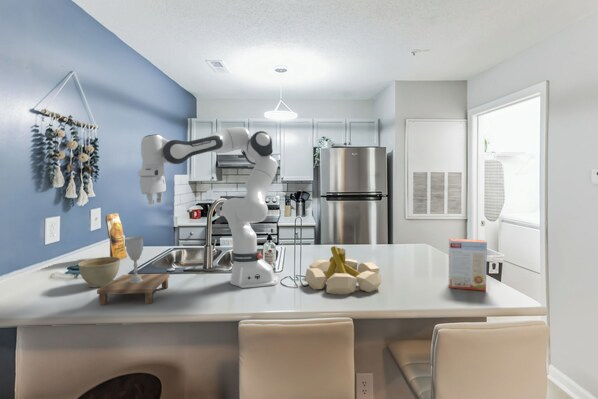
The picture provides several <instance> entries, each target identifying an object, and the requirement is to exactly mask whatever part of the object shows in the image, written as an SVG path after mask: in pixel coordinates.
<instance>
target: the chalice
mask: <svg viewBox="0 0 598 399" xmlns="http://www.w3.org/2000/svg"><path fill="white" fill-rule="evenodd" d="M144 238H145V237H144V236H128V237H125V238H124V241H125V250H126V254H127V256H128V257H129V258H130V260H131V261H133V272H134V273H133V274H134V275H133V274H132V275H133V276H132V277H131V279H130V281H129V283H139V282H142V281H143V280H142V278H141V276H140V275H138V271H139V269H138V261H139V259H140V258H141V256H142V253H143V250H144V241H143V240H144Z"/></svg>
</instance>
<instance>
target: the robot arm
mask: <svg viewBox="0 0 598 399" xmlns="http://www.w3.org/2000/svg"><path fill="white" fill-rule="evenodd" d="M238 150H241V151H240V152H241V154H242V155H243V157H244V159H245V160H246V162H247V163H249V164H250V165H253V166H254V167H253V169H252V170H251V172H250V174H249V176H248V178H247V179H246V182H245V184H244V185H245V186H244V188H245V189H246V195H245V196H244V197H233V198H227V199H226V200H224V202H223V204H222V206H221V213H222V215H223V217H224V218H225V219H226V221H227V223H228V225H229V228H230V231H231V237H232V240H231V241H232V252H231V264H232V268H231V269H232V270H231V276H230V280H229V283H230V284H231V285H233V286H237V287H239V288H241V289H246V288H256V287H257V288H258V287H259V288H260V287H268V286H276V285H277V284H278V283H279V276H278V275H277V274H275V272H274V269H273V266H272V265H271V264H269V263H268V262H267V261H265V260H264V259H262V257H263V254H262V251H259V250H258V239H257V238H258V237H257V234H256V232H255V231H254V230H253V228H252V225H251V224H256V223H260V222H264V221H265V220H266V219H267V216H268V214H269V208H268V205H267V203H266V197H267V193H268V191H269V189H270V187H271V185H272V183H273V181H274V179H275V177H276V174H277V171H278V167H279V165H278V164H279V162H278V161H277V160H276V158H274V157H272V153H274V152H273V139H272V136H271V135H270V134H269V133H268V132H266V131H263V130H260V131H256V132H255V133H253V134H252V135H251V134H250V131H249V130H248V129H247V128H246V127H245V126H233V127H228V128H223V129H220V130H216V131H215V132H213V133H210V134H209V135H208V136H206V137H202V138H198V139H194V140H188V141H184V140H179V139H172V140H168V139H166V138H164V137H163V136H161V135H160V134H148V135H145V136H144V137H142V138H141V141H140V156H141V158H142V161H141V169H139V171H138V172H137V173H138V177H139V184H140V185H139V187H140V192H141V194H142V195H146V199H147V201H148V202H147V203H148V205H154V204H155V200H154V198H153V197H154V194H156V203H162V202H163V201H162V198H163V195H164V194H163V193H164V192H166V191H167V184H166V178H165V163H167V164H170V165H180V164H183V163H185V162H186V161H188V159H189V158H191V157H194V156H197V155H200V154H205V153H209V152H210V153H211V152H214V153H217V154H225V153H231V152H233V151H234V152H235V151H238Z"/></svg>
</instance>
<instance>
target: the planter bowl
mask: <svg viewBox="0 0 598 399" xmlns="http://www.w3.org/2000/svg"><path fill="white" fill-rule="evenodd" d="M120 262H121V260H120V258H117V257H110V256H105V257H103V256H102V257H95V258H90V259H85V260H83V261H81V262H79V263H78V269H79V273H80V276H81V278H82V279H83V281H84V282H85V283H87V284H88V285H87V286H88V287H89V288H102V287H103V286H105V285H107V284H108V283H110V282H112V281H113V280H115V279H116V278H117V277H116V276H117V274H118V273H119V270H120V265H121V264H120Z"/></svg>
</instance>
